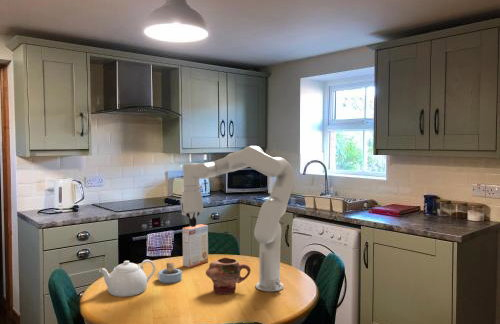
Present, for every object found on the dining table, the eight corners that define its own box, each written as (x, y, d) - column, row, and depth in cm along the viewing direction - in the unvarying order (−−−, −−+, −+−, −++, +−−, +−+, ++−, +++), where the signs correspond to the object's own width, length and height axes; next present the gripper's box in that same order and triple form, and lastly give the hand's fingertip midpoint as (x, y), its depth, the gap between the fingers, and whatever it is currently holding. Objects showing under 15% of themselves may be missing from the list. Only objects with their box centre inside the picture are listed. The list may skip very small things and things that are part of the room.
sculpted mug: (247, 284, 198) (247, 255, 197) (253, 294, 186) (253, 262, 185) (204, 287, 194) (204, 257, 193) (207, 297, 182) (207, 265, 181)
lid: (178, 279, 203) (179, 264, 203) (165, 281, 200) (165, 266, 200) (174, 275, 209) (174, 261, 208) (161, 277, 206) (161, 262, 205)
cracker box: (200, 260, 238) (200, 223, 238) (208, 262, 235) (208, 224, 234) (182, 265, 228) (181, 227, 227) (189, 268, 224) (189, 228, 223)
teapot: (137, 300, 178) (137, 268, 178) (98, 296, 182) (97, 265, 181) (156, 285, 197) (156, 256, 196) (119, 282, 200) (119, 254, 200)
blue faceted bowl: (184, 281, 202) (184, 273, 202) (162, 284, 197) (162, 276, 197) (177, 275, 211) (177, 267, 211) (156, 278, 207) (156, 270, 206)
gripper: (203, 187, 212) (204, 223, 212) (174, 189, 205) (175, 227, 205) (209, 188, 205) (210, 225, 206) (179, 190, 198) (180, 229, 199)
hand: (192, 226), depth 206 cm, fingers closed
